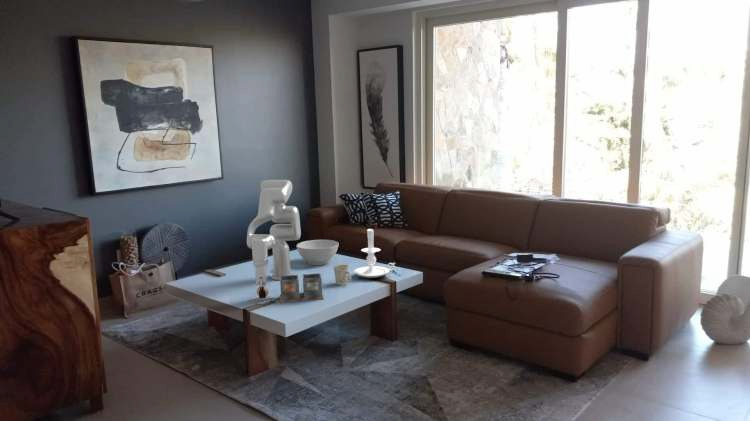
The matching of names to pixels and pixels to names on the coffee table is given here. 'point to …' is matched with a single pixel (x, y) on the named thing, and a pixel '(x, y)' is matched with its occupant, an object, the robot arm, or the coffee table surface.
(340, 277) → the mug
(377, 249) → the candlestick
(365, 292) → the coffee table surface
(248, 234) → the robot arm
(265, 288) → the ball
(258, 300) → the mat
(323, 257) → the decorative bowl
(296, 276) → the dark grey boxy container
